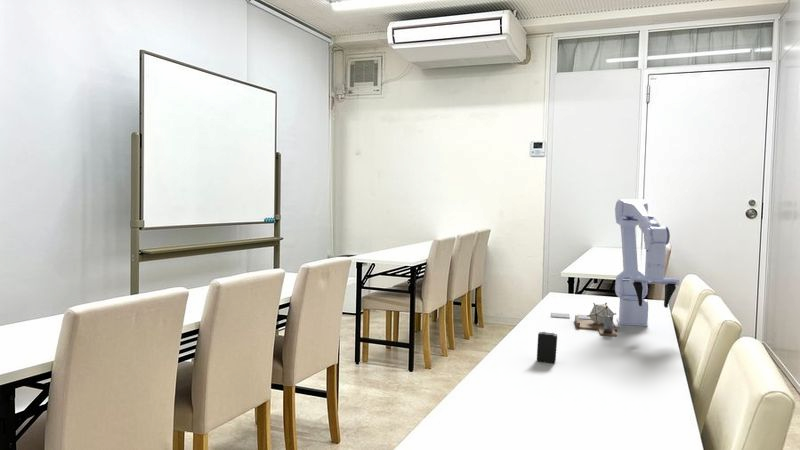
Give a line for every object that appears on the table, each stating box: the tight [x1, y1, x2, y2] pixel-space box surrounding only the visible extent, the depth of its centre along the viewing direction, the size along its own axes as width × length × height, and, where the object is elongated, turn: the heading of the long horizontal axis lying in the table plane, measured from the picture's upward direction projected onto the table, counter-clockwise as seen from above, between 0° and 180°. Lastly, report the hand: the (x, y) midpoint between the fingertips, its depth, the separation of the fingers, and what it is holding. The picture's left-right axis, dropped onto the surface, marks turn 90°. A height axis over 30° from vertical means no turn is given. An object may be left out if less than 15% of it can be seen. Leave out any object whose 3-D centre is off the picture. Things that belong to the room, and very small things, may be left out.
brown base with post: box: [574, 314, 618, 337], centre depth 205 cm, size 13×19×6 cm
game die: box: [586, 302, 617, 325], centre depth 209 cm, size 9×8×10 cm
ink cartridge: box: [536, 331, 558, 365], centre depth 167 cm, size 5×2×8 cm, turn 69°
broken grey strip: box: [550, 312, 592, 320], centre depth 222 cm, size 16×6×1 cm, turn 77°
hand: (652, 306), depth 194 cm, fingers open, 7 cm apart
